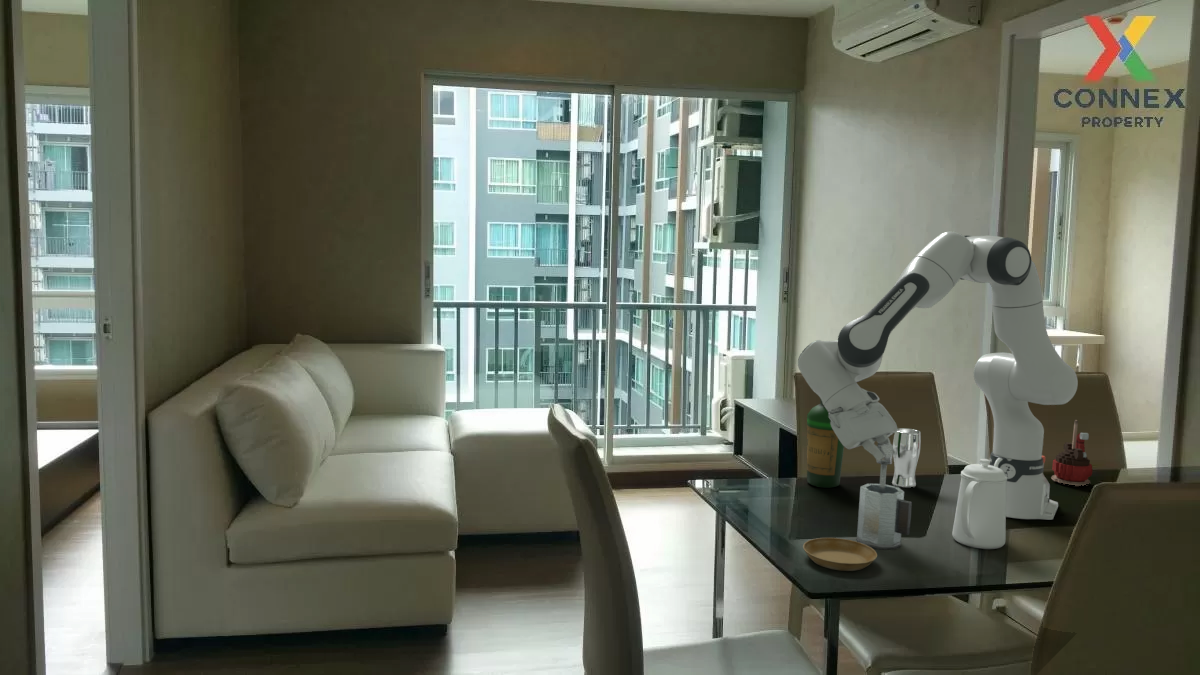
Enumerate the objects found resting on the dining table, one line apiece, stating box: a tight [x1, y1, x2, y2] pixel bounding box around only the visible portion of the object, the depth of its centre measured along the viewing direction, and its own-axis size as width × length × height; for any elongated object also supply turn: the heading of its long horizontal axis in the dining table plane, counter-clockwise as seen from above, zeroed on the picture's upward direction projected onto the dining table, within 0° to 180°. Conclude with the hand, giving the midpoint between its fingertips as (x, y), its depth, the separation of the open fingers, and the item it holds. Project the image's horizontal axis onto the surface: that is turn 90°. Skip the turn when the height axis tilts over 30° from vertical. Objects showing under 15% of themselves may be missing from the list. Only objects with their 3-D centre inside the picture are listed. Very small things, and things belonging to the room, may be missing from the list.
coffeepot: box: [951, 458, 1007, 550], centre depth 197 cm, size 11×25×19 cm, turn 141°
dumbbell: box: [875, 442, 893, 493], centre depth 194 cm, size 5×5×17 cm
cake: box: [1050, 419, 1093, 487], centre depth 250 cm, size 11×9×18 cm
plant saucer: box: [802, 537, 878, 572], centre depth 184 cm, size 15×15×3 cm
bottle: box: [806, 397, 845, 489], centre depth 240 cm, size 11×11×28 cm
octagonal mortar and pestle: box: [856, 483, 913, 551], centre depth 194 cm, size 9×11×12 cm
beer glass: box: [891, 427, 921, 489], centre depth 243 cm, size 7×7×15 cm
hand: (887, 457), depth 193 cm, fingers closed on dumbbell, 3 cm apart
